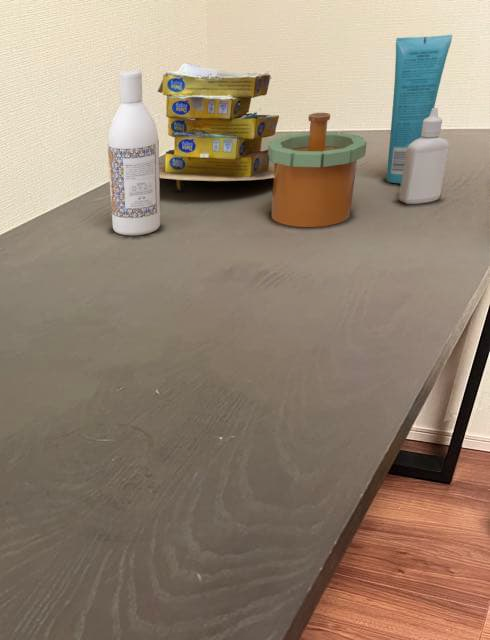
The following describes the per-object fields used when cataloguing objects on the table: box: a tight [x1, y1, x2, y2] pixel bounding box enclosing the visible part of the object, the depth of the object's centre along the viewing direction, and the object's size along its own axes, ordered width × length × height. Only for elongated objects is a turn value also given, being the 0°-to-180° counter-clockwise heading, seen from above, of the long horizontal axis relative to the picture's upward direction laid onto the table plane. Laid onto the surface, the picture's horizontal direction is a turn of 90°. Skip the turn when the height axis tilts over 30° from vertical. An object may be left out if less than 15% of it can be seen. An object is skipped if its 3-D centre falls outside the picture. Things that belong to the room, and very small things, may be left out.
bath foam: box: [107, 69, 161, 236], centre depth 109 cm, size 7×7×20 cm
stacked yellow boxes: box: [157, 62, 280, 191], centre depth 126 cm, size 25×25×17 cm
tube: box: [385, 34, 453, 185], centre depth 117 cm, size 7×5×19 cm, turn 85°
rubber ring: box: [267, 131, 368, 167], centre depth 108 cm, size 13×13×2 cm
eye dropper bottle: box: [398, 107, 450, 205], centre depth 111 cm, size 4×6×12 cm
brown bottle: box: [270, 112, 358, 228], centre depth 110 cm, size 11×11×13 cm
